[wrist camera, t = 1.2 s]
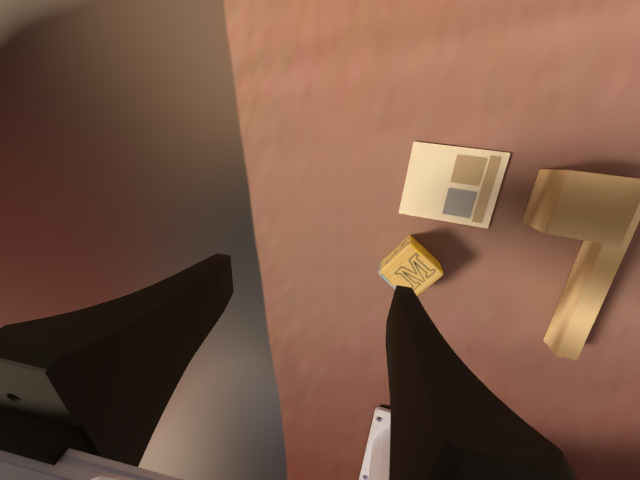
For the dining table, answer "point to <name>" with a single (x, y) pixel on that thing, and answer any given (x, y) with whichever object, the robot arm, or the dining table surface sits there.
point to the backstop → (585, 294)
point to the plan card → (453, 183)
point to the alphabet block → (410, 266)
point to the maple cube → (583, 205)
